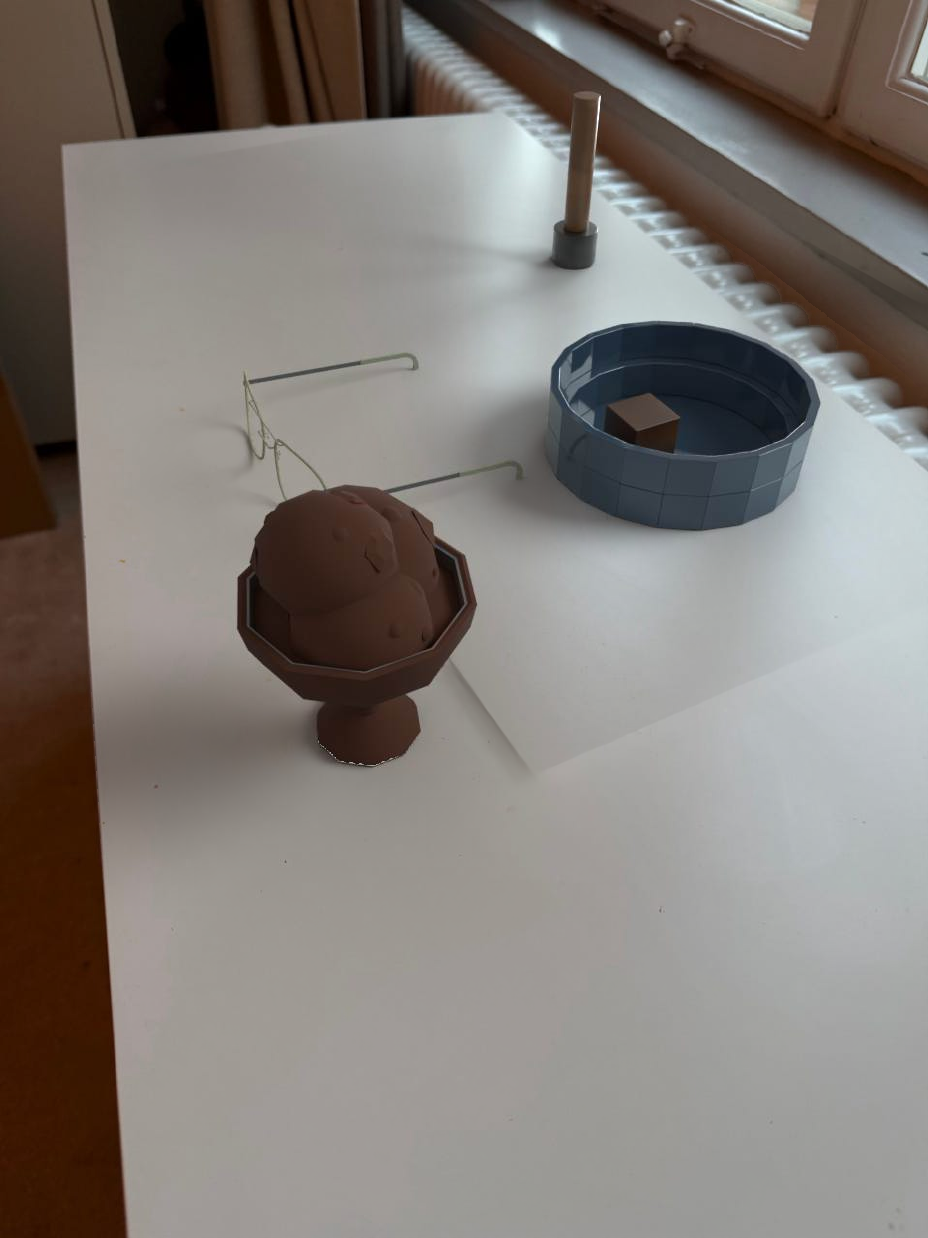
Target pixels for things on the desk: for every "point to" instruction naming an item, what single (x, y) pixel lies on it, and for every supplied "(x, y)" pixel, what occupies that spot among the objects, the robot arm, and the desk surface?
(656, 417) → the block
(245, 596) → the ice cream bowl
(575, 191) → the pestle
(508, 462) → the eyeglasses
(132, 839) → the desk surface
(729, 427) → the bowl
